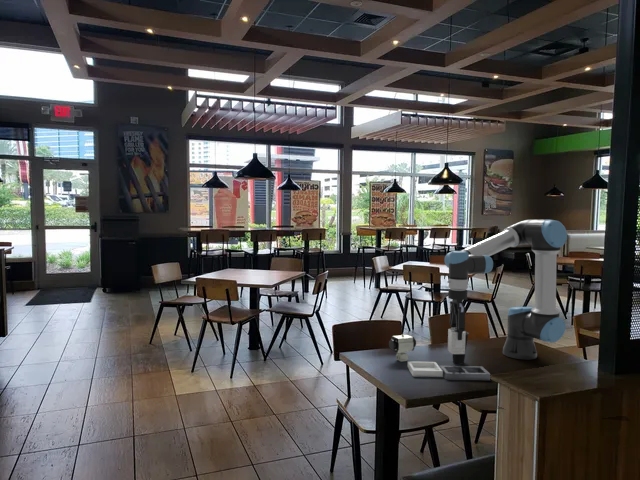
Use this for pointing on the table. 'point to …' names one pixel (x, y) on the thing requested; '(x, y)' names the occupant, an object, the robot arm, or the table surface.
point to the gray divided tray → (465, 373)
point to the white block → (451, 342)
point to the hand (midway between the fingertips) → (456, 345)
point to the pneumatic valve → (402, 346)
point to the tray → (425, 369)
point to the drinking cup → (459, 357)
